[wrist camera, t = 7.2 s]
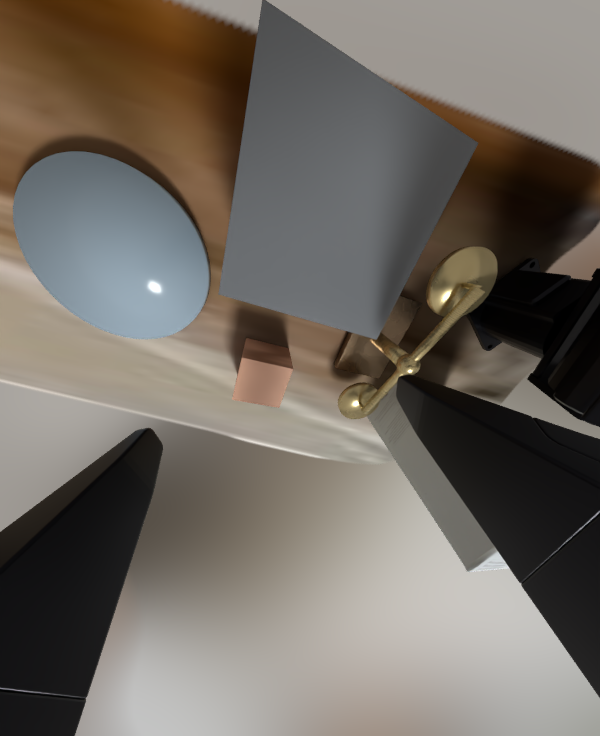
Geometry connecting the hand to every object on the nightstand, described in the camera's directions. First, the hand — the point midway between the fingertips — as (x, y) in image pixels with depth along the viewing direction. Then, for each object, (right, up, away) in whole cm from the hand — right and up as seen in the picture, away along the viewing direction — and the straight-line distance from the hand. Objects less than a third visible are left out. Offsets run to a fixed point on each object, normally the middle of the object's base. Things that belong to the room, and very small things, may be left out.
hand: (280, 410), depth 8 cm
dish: (-11, +9, +8) cm, 16 cm away
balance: (+8, +5, +13) cm, 16 cm away
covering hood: (+1, +9, +4) cm, 10 cm away
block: (-3, +2, +13) cm, 14 cm away
